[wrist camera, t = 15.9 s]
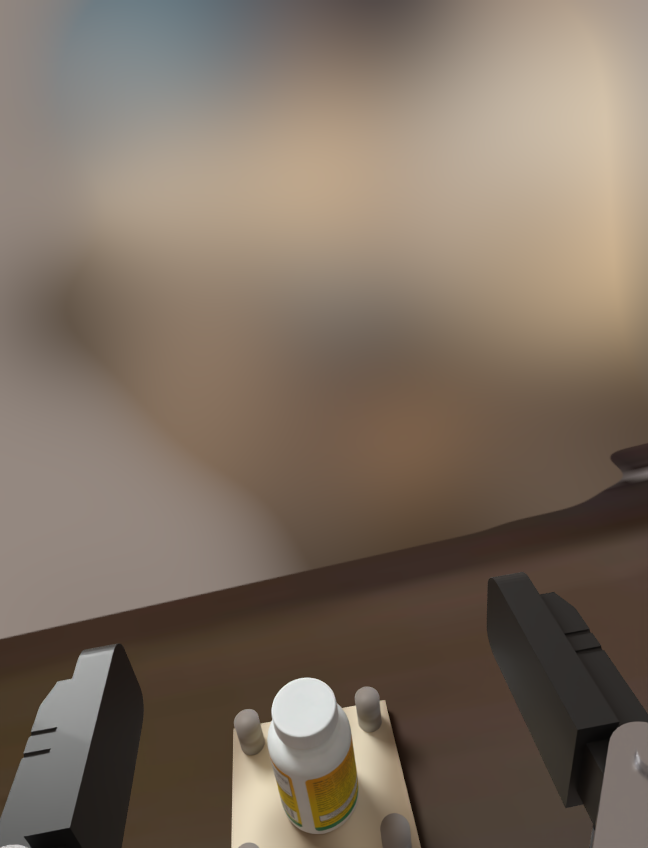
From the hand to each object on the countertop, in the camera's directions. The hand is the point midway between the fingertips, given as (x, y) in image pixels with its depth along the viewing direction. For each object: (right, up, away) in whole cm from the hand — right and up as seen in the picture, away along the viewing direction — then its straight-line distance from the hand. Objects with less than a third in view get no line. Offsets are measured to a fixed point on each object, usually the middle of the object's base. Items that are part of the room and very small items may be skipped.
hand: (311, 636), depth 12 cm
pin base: (0, -22, +27) cm, 35 cm away
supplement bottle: (0, -21, +27) cm, 34 cm away
